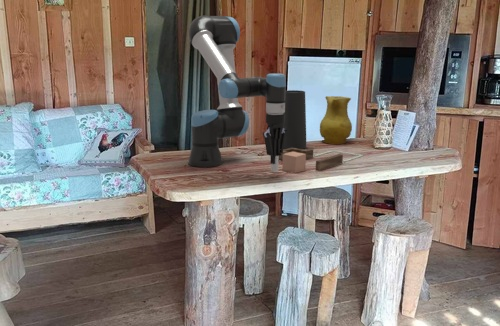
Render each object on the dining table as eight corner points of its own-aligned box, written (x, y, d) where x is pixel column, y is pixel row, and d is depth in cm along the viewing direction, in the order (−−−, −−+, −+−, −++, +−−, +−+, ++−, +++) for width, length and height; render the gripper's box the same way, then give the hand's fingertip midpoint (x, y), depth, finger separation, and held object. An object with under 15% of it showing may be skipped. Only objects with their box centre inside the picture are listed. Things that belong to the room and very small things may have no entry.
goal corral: (314, 156, 233) (314, 155, 233) (333, 150, 245) (333, 150, 245) (344, 162, 222) (345, 161, 222) (363, 156, 234) (363, 155, 234)
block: (282, 170, 208) (282, 154, 206) (292, 167, 213) (292, 151, 211) (295, 173, 203) (295, 156, 202) (305, 169, 208) (305, 154, 207)
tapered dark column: (293, 151, 243) (295, 93, 236) (274, 147, 253) (275, 91, 246) (311, 147, 252) (313, 91, 245) (292, 143, 262) (294, 89, 255)
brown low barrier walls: (272, 160, 224) (272, 152, 223) (296, 154, 236) (296, 146, 236) (319, 170, 207) (319, 161, 206) (342, 163, 219) (342, 154, 219)
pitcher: (311, 141, 267) (316, 95, 261) (332, 138, 279) (337, 94, 274) (336, 146, 255) (341, 98, 249) (357, 143, 267) (363, 98, 261)
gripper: (272, 116, 186) (271, 175, 191) (293, 112, 195) (291, 169, 201) (257, 114, 191) (257, 172, 196) (278, 110, 200) (277, 166, 205)
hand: (274, 171), depth 198 cm, fingers closed
